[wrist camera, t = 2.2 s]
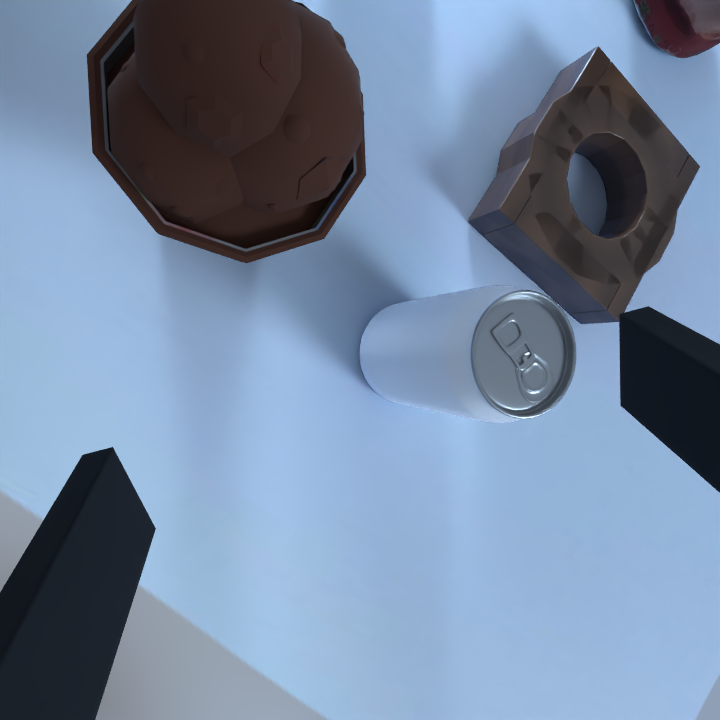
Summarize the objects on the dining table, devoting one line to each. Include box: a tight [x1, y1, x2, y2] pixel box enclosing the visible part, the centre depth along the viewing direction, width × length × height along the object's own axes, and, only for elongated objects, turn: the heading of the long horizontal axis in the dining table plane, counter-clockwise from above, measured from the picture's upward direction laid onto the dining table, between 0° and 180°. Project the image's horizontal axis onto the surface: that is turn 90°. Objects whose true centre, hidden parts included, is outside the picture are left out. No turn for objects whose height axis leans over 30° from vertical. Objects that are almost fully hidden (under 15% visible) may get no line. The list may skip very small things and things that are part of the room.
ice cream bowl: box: [87, 0, 366, 263], centre depth 23 cm, size 11×11×15 cm
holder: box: [468, 46, 700, 324], centre depth 38 cm, size 13×14×4 cm
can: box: [360, 285, 576, 423], centre depth 29 cm, size 6×6×12 cm
